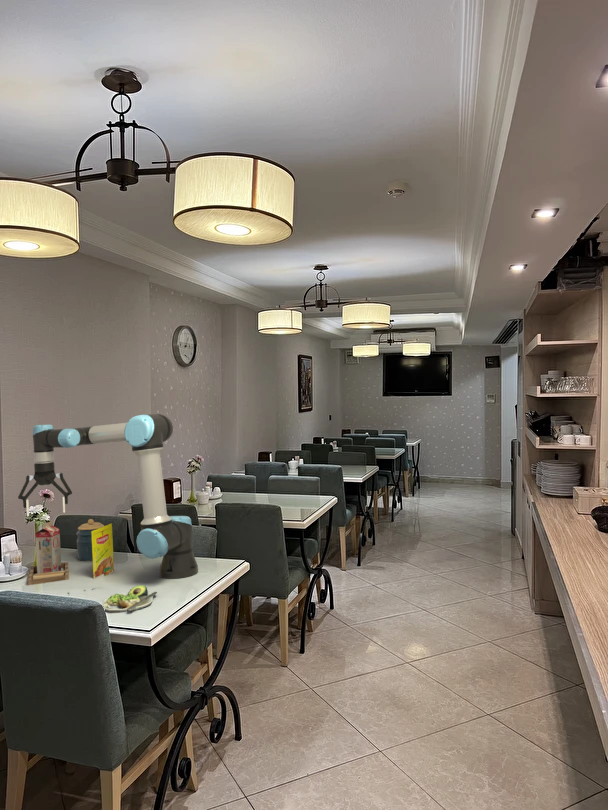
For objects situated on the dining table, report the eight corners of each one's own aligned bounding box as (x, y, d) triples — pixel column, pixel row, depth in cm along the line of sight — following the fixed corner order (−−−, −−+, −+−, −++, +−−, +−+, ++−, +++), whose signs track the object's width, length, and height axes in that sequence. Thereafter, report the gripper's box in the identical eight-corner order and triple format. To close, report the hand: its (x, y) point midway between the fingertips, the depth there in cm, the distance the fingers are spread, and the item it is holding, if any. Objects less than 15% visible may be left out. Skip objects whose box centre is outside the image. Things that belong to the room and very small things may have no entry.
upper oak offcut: (63, 579, 232) (63, 574, 232) (33, 582, 229) (33, 577, 229) (65, 575, 237) (64, 570, 237) (35, 579, 234) (35, 574, 234)
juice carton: (61, 574, 245) (59, 521, 245) (53, 578, 238) (50, 524, 238) (46, 574, 246) (43, 521, 246) (37, 579, 239) (35, 524, 239)
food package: (95, 582, 231) (92, 531, 231) (92, 582, 231) (90, 531, 231) (115, 571, 246) (112, 523, 246) (112, 570, 246) (110, 523, 246)
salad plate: (155, 612, 194) (154, 598, 194) (98, 618, 191) (97, 604, 191) (158, 594, 213) (157, 581, 213) (106, 599, 210) (105, 586, 210)
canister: (78, 555, 275) (76, 518, 275) (107, 552, 279) (105, 515, 279) (76, 562, 263) (74, 523, 263) (107, 559, 267) (105, 520, 267)
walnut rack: (68, 583, 231) (68, 574, 231) (28, 588, 226) (28, 579, 226) (68, 570, 251) (68, 561, 251) (31, 575, 245) (30, 566, 245)
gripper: (76, 459, 250) (78, 509, 250) (11, 463, 241) (13, 515, 241) (76, 460, 243) (79, 512, 243) (9, 465, 234) (11, 518, 234)
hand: (46, 514), depth 242 cm, fingers open, 13 cm apart
